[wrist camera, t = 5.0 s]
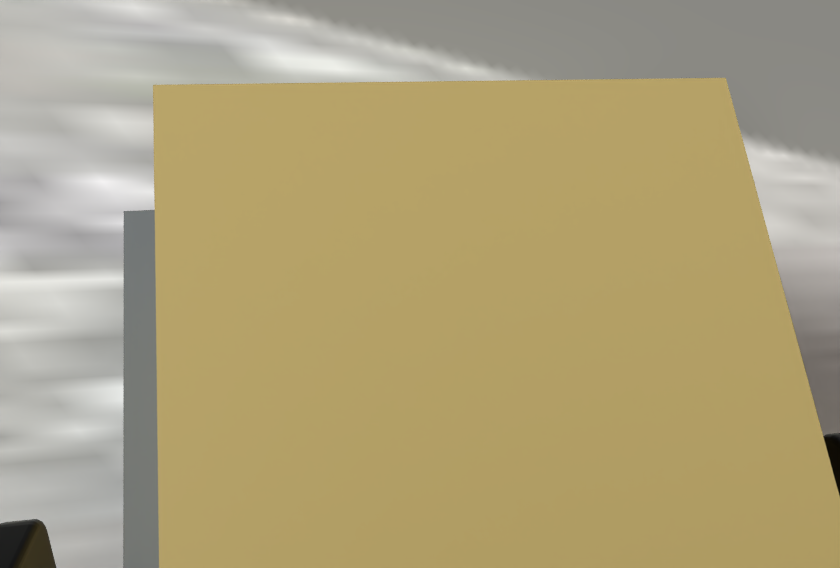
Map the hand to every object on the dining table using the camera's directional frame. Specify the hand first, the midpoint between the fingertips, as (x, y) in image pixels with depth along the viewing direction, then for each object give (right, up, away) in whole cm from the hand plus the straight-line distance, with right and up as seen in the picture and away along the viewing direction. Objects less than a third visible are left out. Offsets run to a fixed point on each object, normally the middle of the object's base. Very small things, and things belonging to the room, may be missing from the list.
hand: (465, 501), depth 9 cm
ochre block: (-2, -2, +8) cm, 9 cm away
